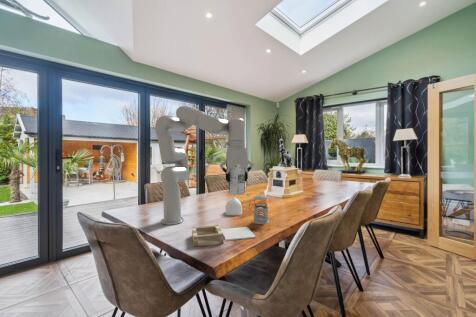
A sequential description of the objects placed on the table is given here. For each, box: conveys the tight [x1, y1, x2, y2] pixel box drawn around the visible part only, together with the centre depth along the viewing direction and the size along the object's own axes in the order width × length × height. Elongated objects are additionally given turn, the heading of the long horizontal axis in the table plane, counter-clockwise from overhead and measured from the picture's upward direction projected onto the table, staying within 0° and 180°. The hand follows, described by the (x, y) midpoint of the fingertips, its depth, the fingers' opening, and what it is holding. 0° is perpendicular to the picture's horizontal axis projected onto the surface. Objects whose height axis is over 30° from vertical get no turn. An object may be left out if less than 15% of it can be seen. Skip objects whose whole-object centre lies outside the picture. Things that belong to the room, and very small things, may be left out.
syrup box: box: [228, 164, 246, 196], centre depth 113 cm, size 6×6×14 cm
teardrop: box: [224, 194, 243, 216], centre depth 151 cm, size 11×11×12 cm
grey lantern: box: [248, 177, 270, 225], centre depth 133 cm, size 10×12×25 cm
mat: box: [220, 226, 256, 242], centre depth 114 cm, size 14×14×1 cm
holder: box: [191, 224, 224, 247], centre depth 107 cm, size 13×13×4 cm
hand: (236, 181), depth 113 cm, fingers closed on syrup box, 8 cm apart
